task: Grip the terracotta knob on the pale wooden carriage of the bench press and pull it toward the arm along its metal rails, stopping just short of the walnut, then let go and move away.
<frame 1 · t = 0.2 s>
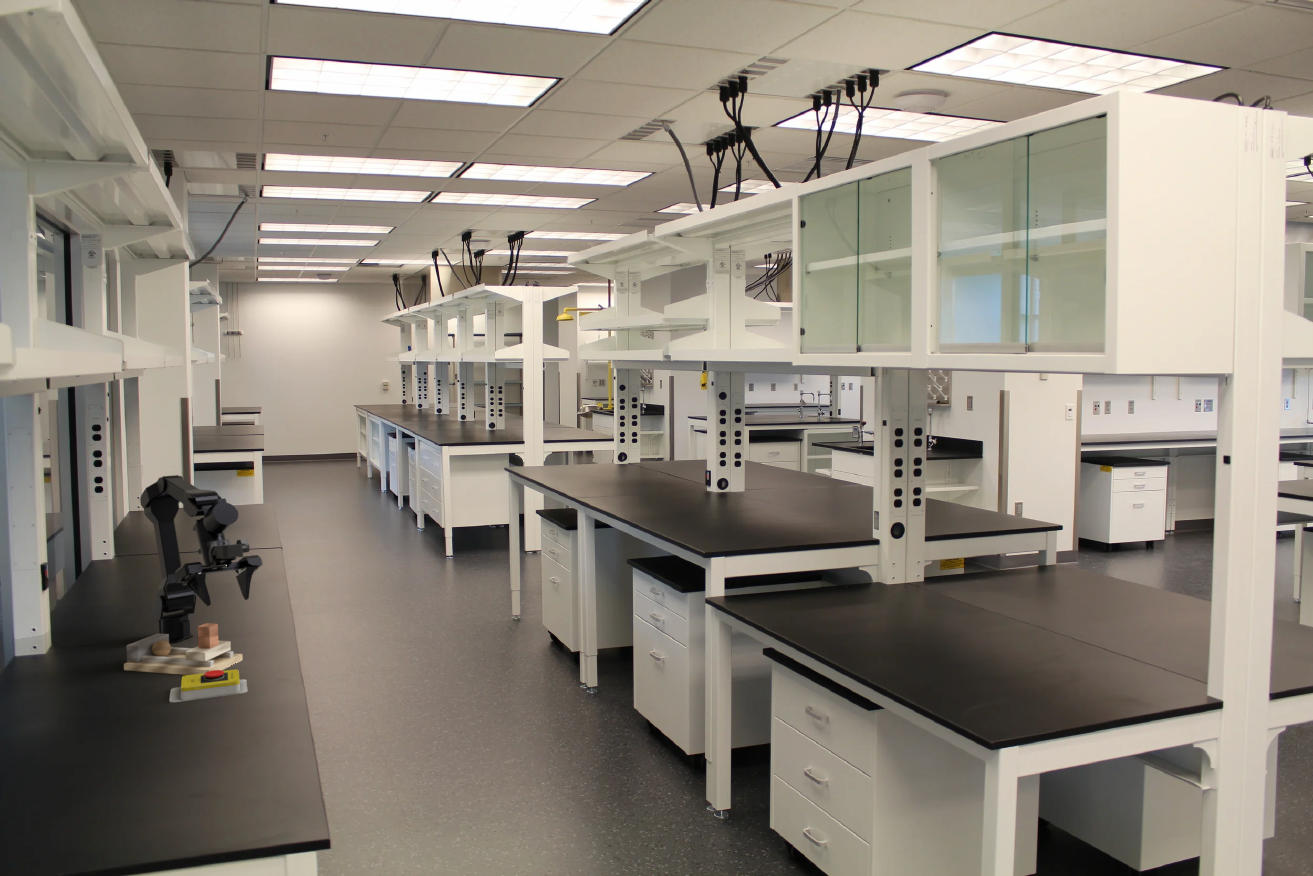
hand: (228, 602, 213), 15 cm above the lab bench, tool tilted 30°, fingers open, 9 cm apart
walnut: (161, 648, 214), point 4 cm above the lab bench
emergency button: (209, 694, 197), on the lab bench
slider: (208, 640, 212), point 6 cm above the lab bench, slide at 0.0 cm
press bed: (184, 665, 213), on the lab bench
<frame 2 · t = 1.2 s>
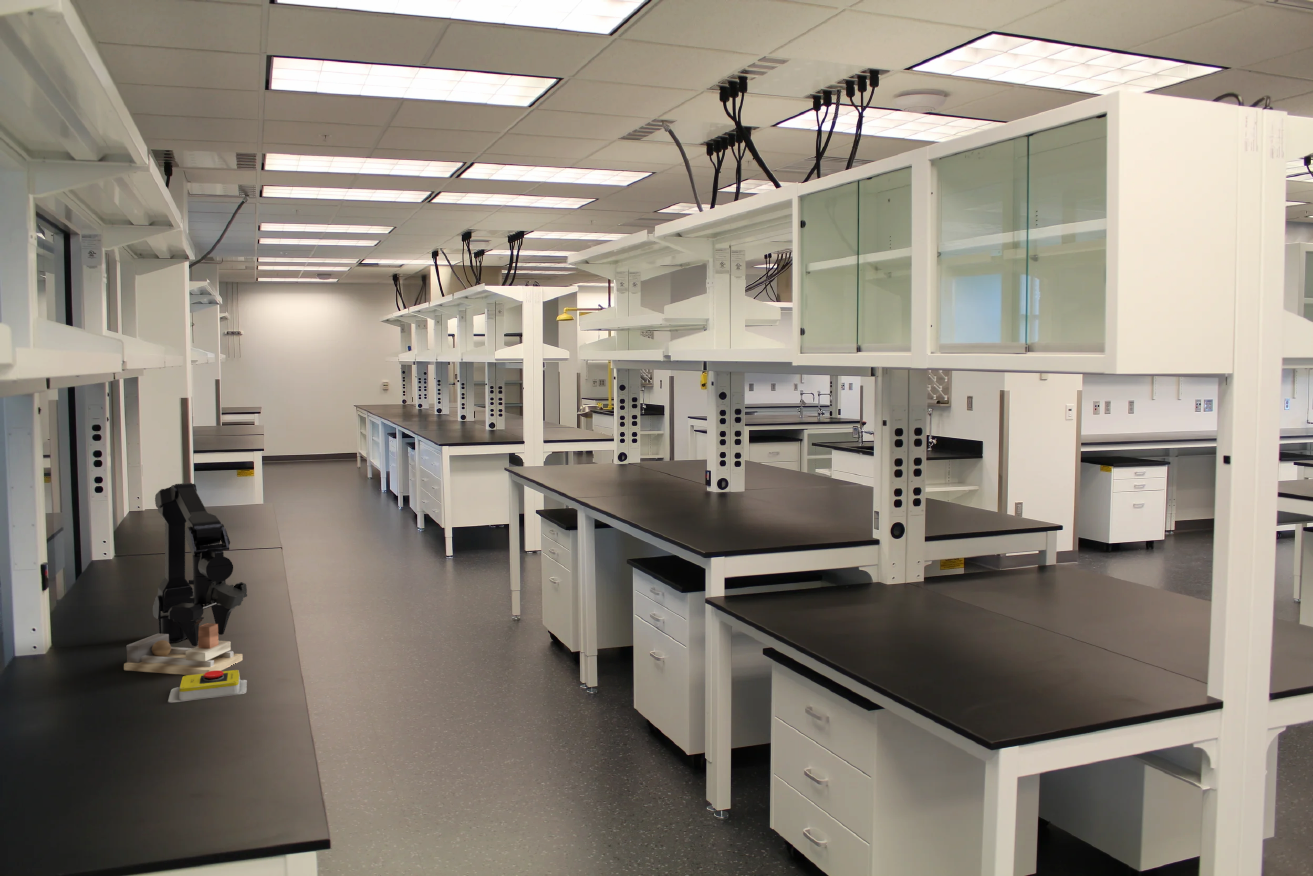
hand: (208, 640, 212), 6 cm above the lab bench, tool pointing down, fingers open, 9 cm apart
nothing on the lab bench moved.
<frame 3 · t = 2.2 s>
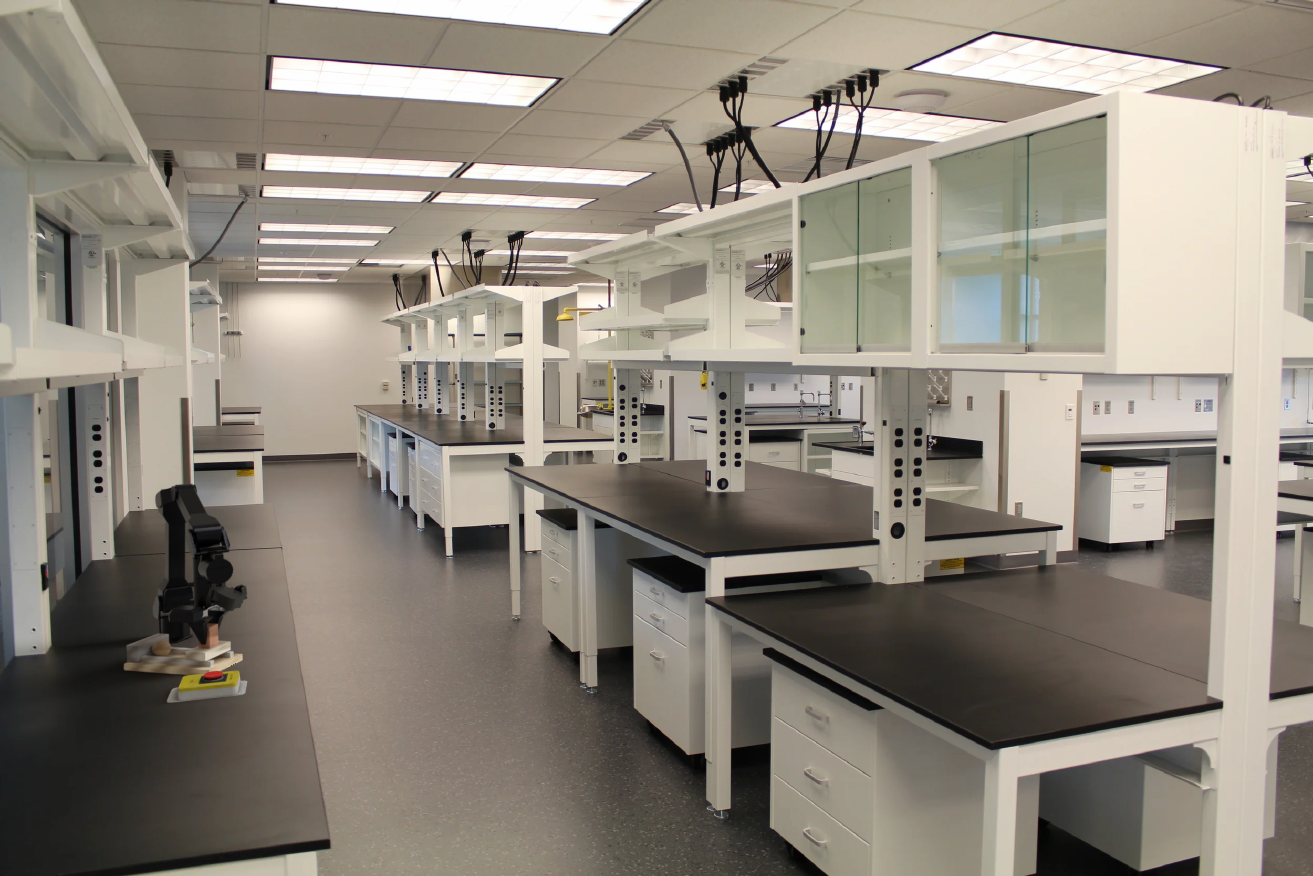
hand: (208, 642, 212), 6 cm above the lab bench, tool pointing down, fingers closed on slider, 3 cm apart
slider: (208, 640, 212), point 6 cm above the lab bench, slide at 0.0 cm, touching gripper
everything else where it was.
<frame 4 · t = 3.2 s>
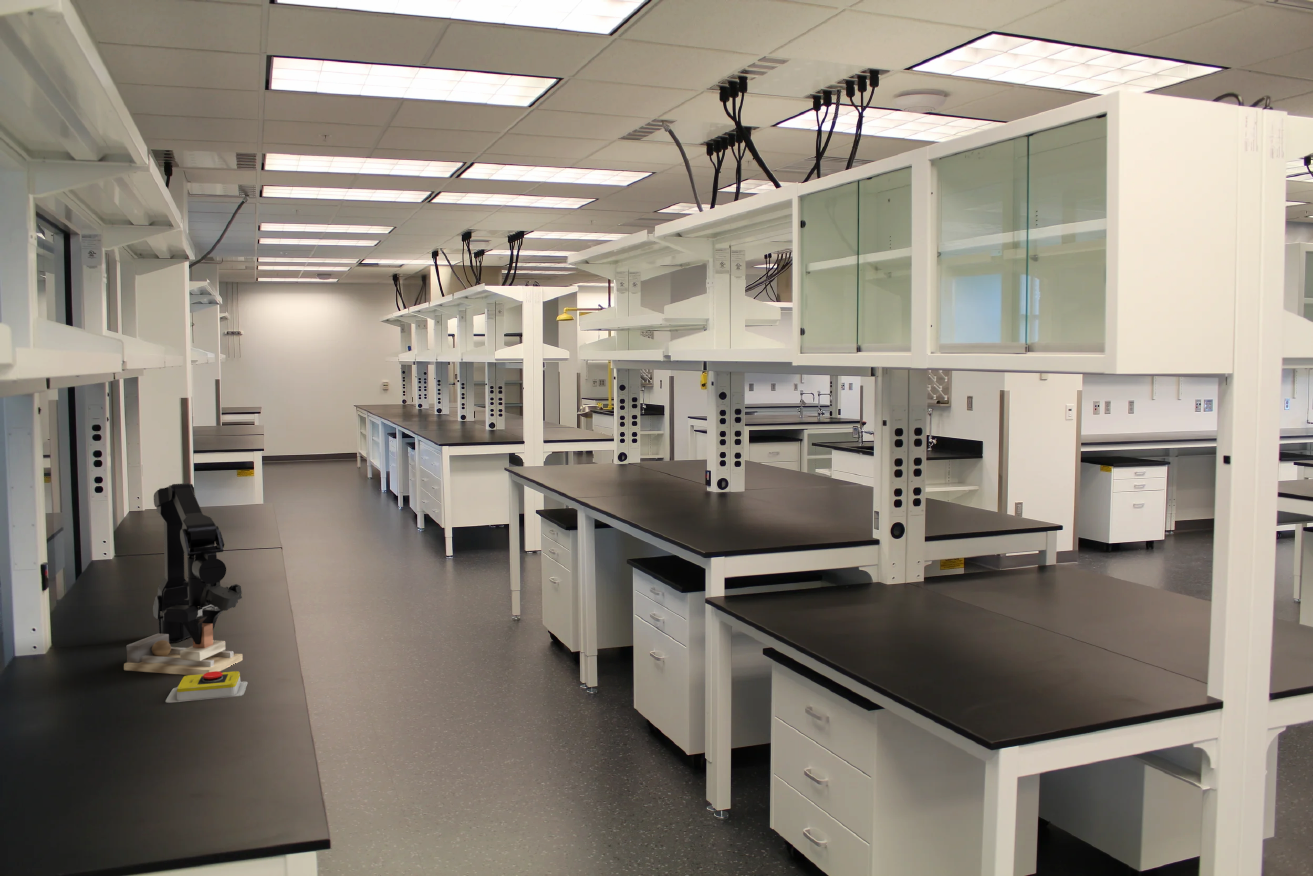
hand: (203, 642, 212), 6 cm above the lab bench, tool pointing down, fingers closed on slider, 3 cm apart
slider: (203, 639, 212), point 6 cm above the lab bench, slide at 1.4 cm, touching gripper
everything else where it was.
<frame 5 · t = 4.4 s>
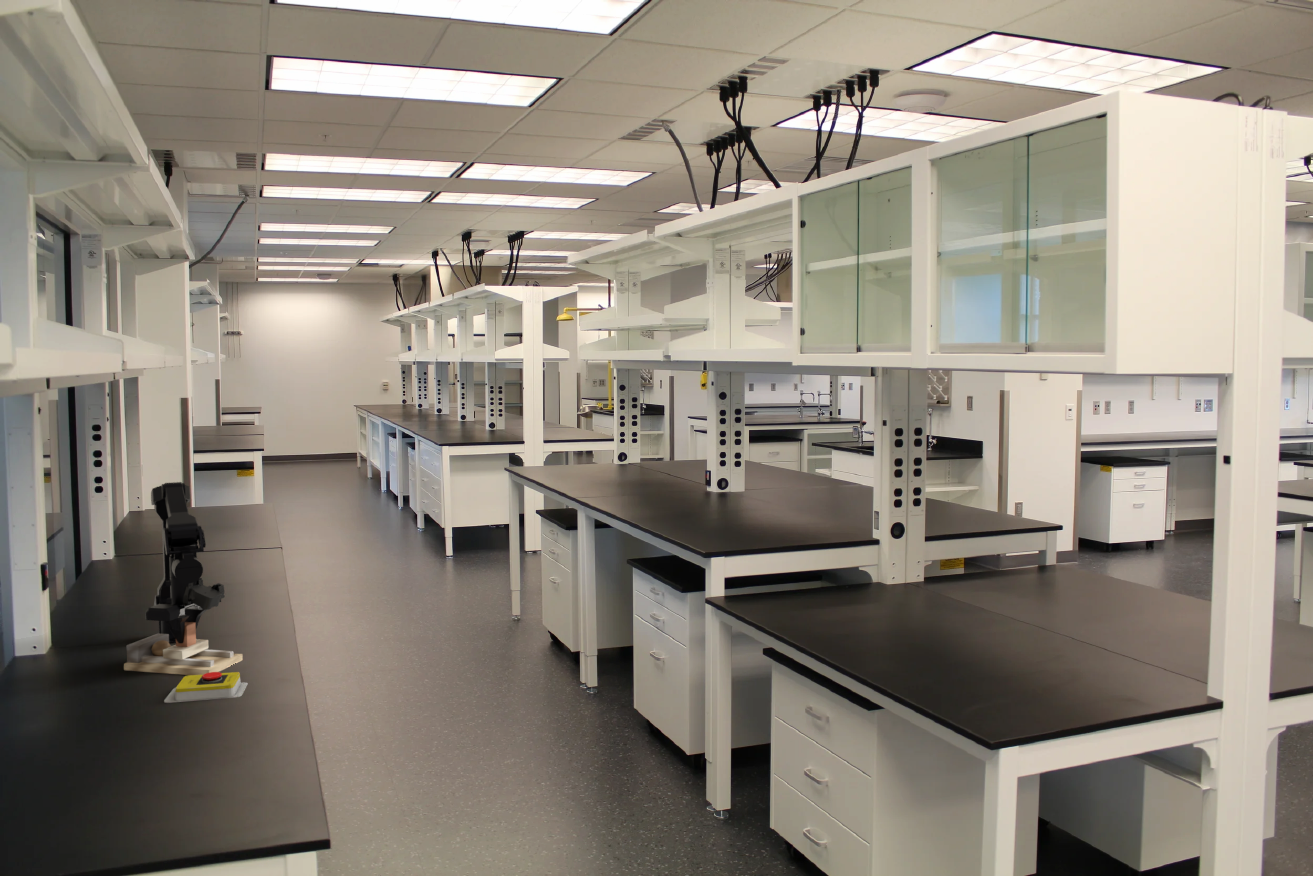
hand: (185, 641, 213), 6 cm above the lab bench, tool pointing down, fingers closed on slider, 3 cm apart
slider: (185, 638, 213), point 6 cm above the lab bench, slide at 5.9 cm, touching gripper
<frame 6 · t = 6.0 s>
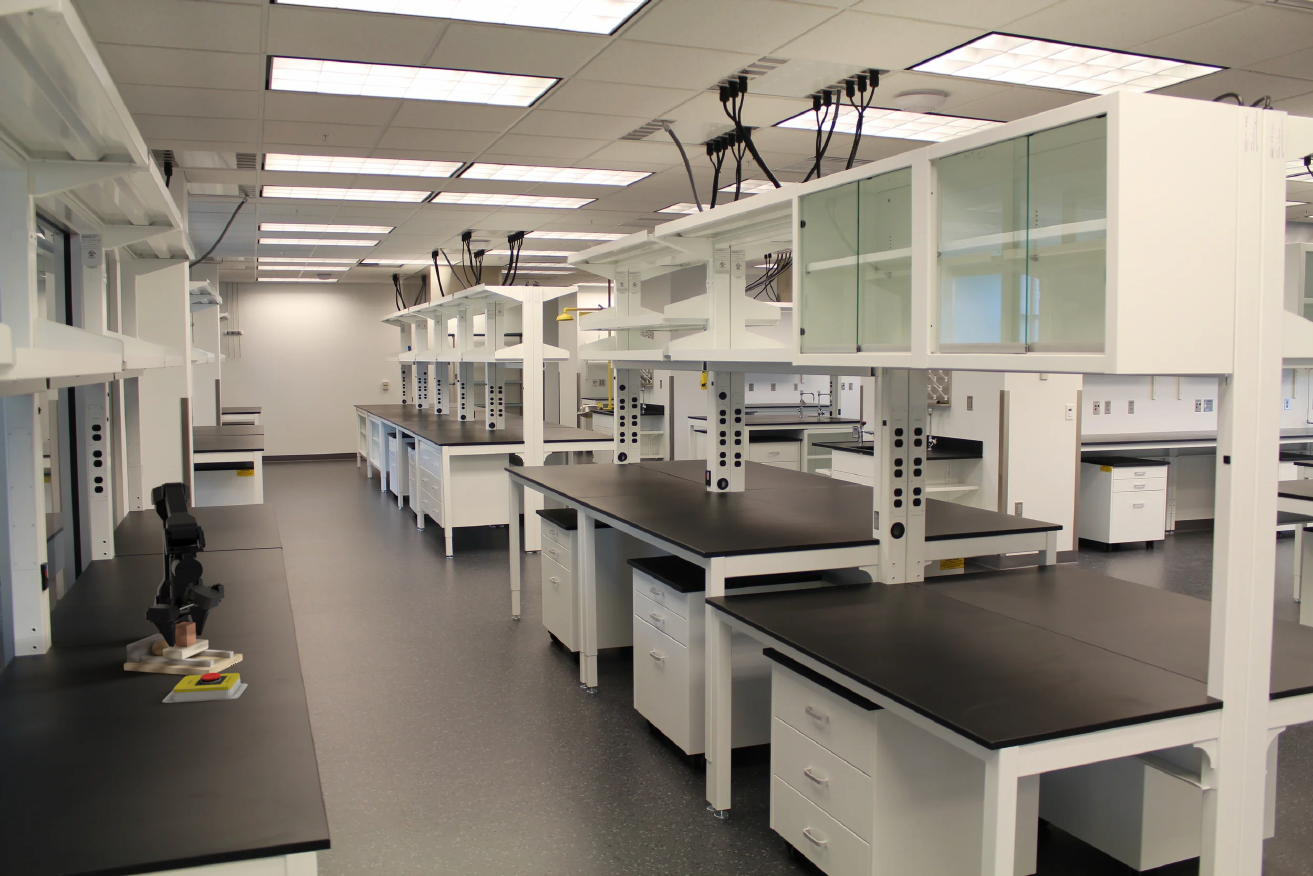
hand: (185, 641, 213), 6 cm above the lab bench, tool pointing down, fingers open, 9 cm apart
slider: (185, 638, 213), point 6 cm above the lab bench, slide at 5.9 cm
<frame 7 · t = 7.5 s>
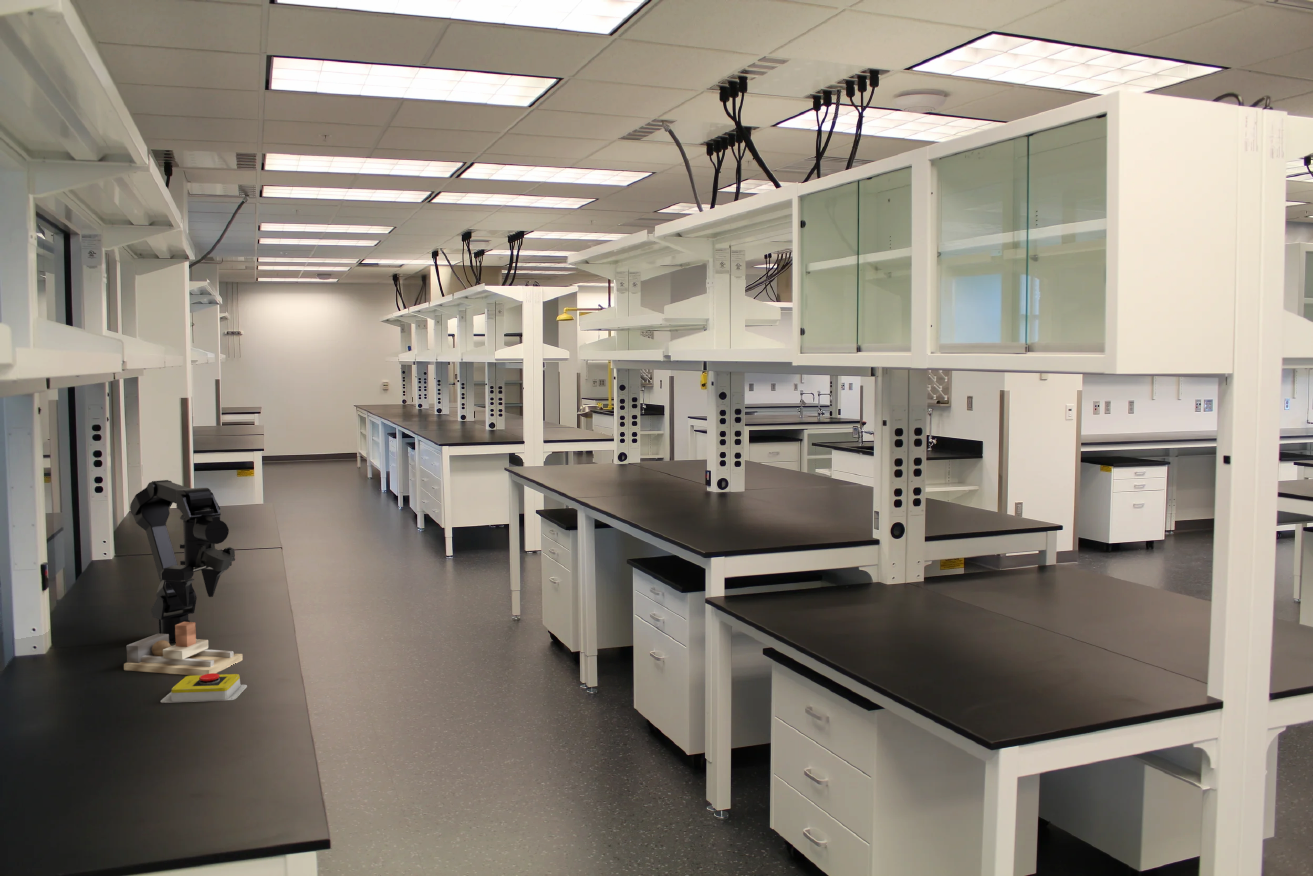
hand: (198, 601, 225), 12 cm above the lab bench, tool pointing down, fingers open, 9 cm apart
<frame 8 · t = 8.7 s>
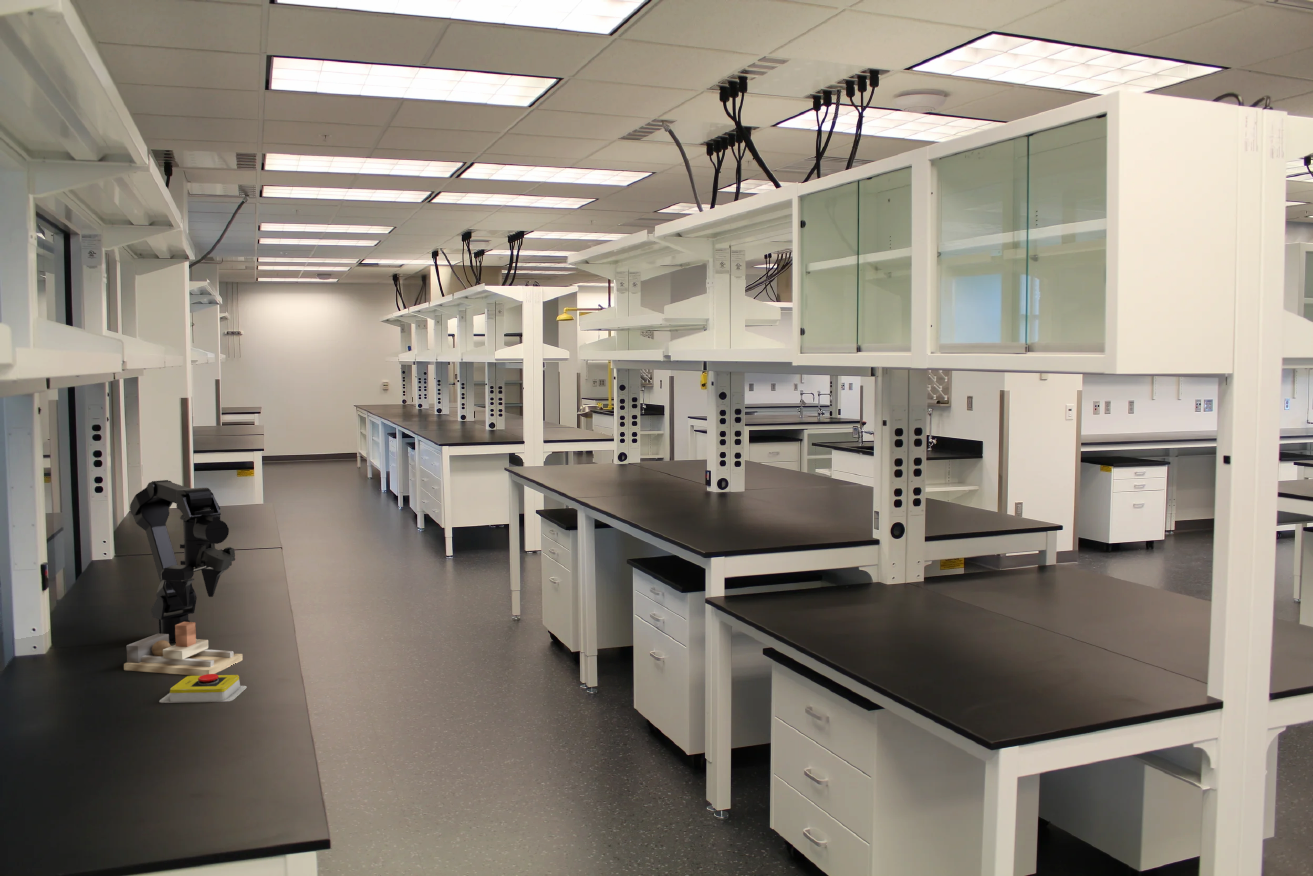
hand: (198, 601, 225), 12 cm above the lab bench, tool pointing down, fingers open, 9 cm apart
at the end: slider slide at 5.9 cm; slider touching nothing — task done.
